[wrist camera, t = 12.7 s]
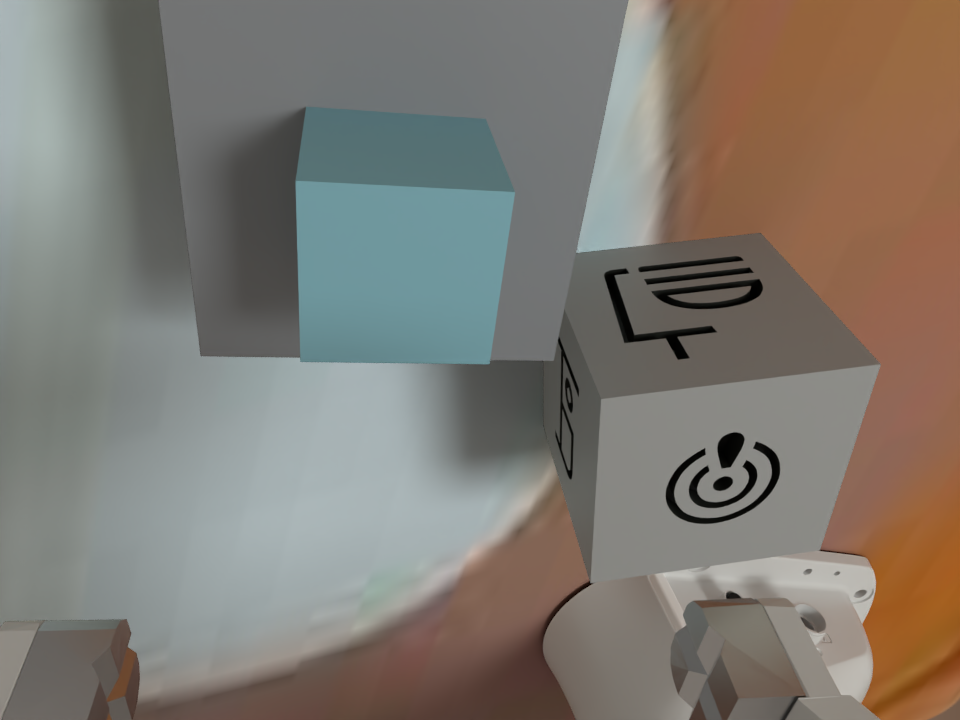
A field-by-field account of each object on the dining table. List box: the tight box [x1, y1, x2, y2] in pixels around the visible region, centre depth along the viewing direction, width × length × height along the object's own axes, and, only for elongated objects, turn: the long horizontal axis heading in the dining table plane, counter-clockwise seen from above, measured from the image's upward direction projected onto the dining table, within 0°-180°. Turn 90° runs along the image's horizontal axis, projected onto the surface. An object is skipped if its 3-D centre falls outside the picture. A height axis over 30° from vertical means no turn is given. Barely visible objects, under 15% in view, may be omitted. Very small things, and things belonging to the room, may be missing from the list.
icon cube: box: [543, 233, 881, 583], centre depth 34 cm, size 10×10×10 cm
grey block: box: [158, 0, 628, 361], centre depth 26 cm, size 12×12×8 cm
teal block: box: [296, 107, 515, 364], centre depth 21 cm, size 5×5×5 cm
